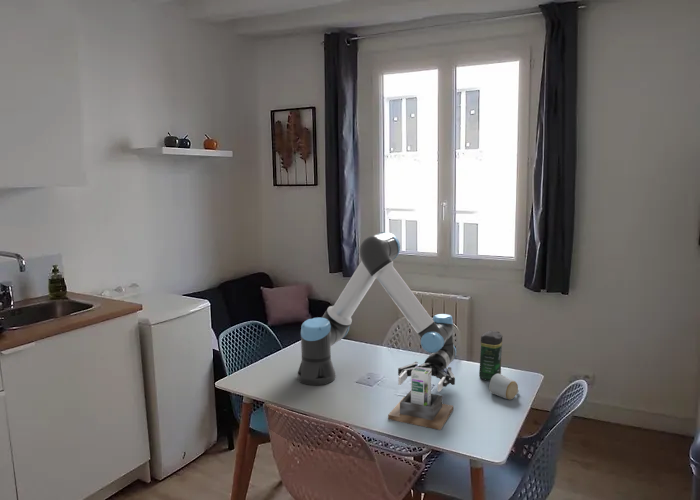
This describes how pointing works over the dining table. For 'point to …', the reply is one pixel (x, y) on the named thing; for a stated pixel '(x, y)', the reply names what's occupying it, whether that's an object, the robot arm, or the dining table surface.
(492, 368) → the coffee jar
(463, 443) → the dining table surface
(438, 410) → the socket board
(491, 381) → the ceramic mug
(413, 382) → the syrup box
